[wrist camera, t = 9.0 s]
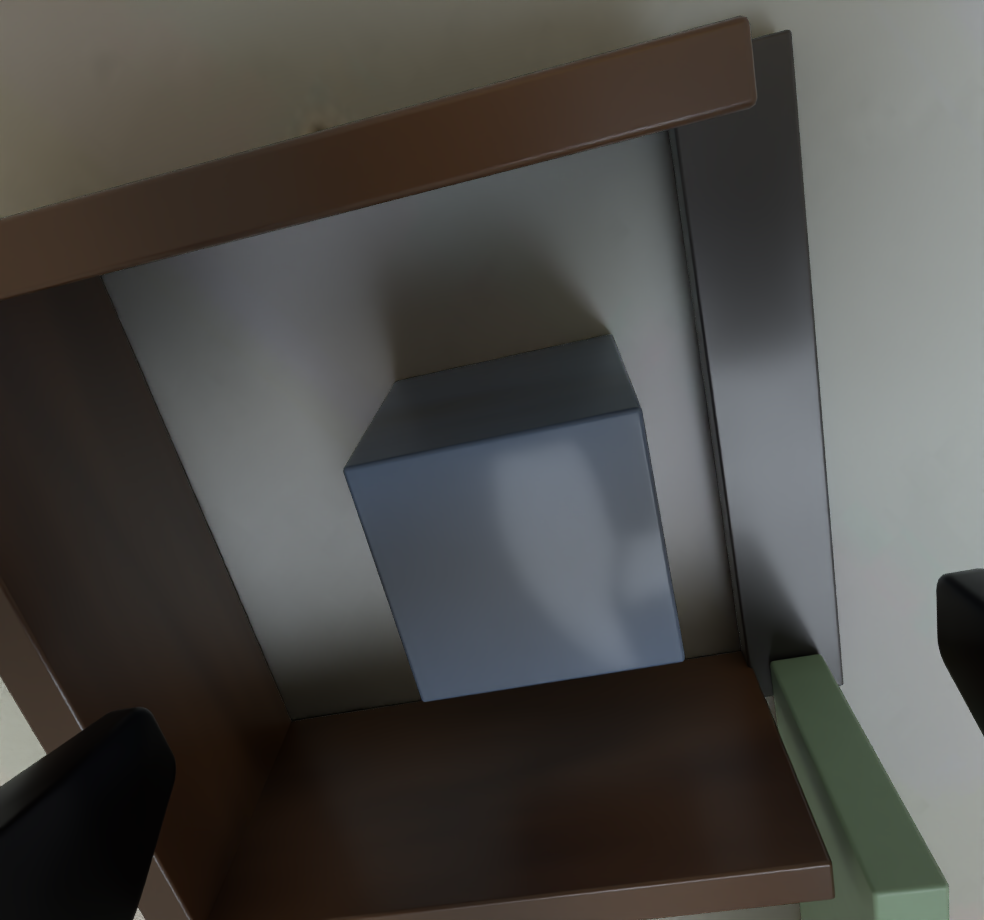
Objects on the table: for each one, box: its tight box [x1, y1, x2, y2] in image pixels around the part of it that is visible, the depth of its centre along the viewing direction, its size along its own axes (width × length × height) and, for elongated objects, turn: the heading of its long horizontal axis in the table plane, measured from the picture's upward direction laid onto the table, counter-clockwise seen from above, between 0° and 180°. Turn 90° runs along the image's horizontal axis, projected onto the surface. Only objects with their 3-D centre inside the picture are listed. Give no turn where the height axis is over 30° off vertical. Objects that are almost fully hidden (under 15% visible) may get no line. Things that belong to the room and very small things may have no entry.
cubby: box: [0, 16, 843, 920], centre depth 12 cm, size 12×12×5 cm
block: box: [343, 334, 685, 702], centre depth 12 cm, size 4×4×4 cm
